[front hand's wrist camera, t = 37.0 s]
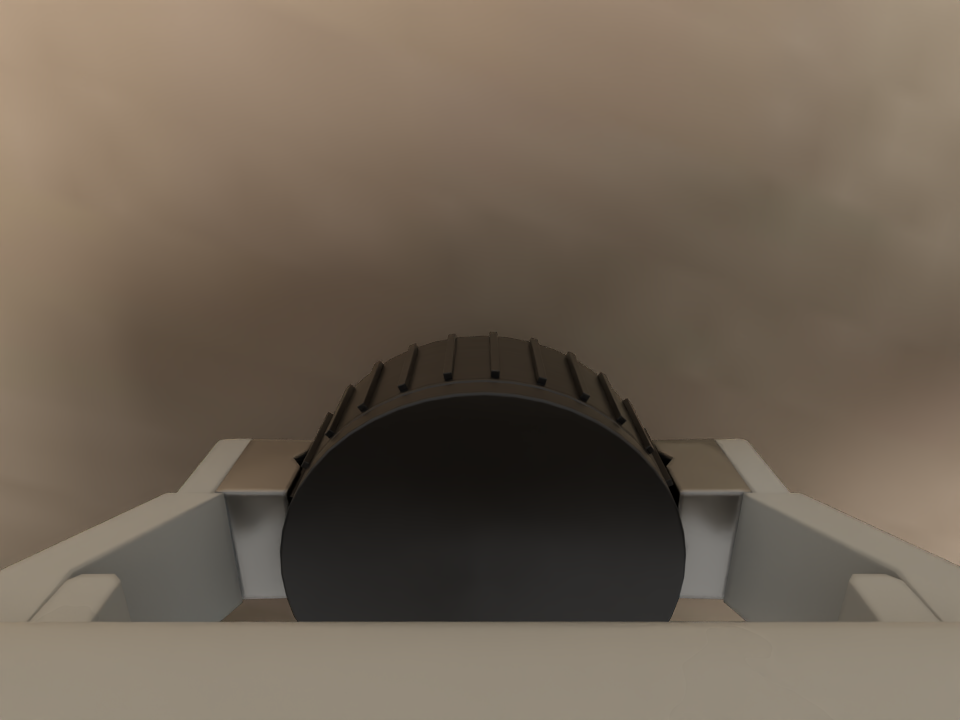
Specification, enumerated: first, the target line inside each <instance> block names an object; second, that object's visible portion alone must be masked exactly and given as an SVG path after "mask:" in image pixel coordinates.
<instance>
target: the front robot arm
mask: <svg viewBox="0 0 960 720" xmlns="http://www.w3.org/2000/svg"><path fill="white" fill-rule="evenodd" d="M313 441H314V440H276V439H255V440H254V439H252V438H248V439H223V440H219V441H218V442H217V443H216V444H215V445H214V447H213V448H212V449H211V450H210V452H209V453H208V454H207V455H206V457H205V458H204V459H203V460H202V462H201V463H200V464H199V465H198V467H197V468H196V469H195V470H194V472H193V473H192V474H191V475H190V477H189V478H188V479H187V480H186V482H185V483H184V484H183V485H182V487H181V488H180V489H179V490H178V492H177V493H165V494H163V495H161V496H158V497H156V498H154V499H152V500H150V501H148V502H146V503H143V504H141V505H139V506H137V507H135V508H133V509H131V510H128V511H126V512H124V513H122V514H120V515H118V516H115V517H113V518H111V519H109V520H107V521H105V522H103V523H100V524H98V525H96V526H94V527H92V528H90V529H88V530H85V531H83V532H81V533H79V534H77V535H75V536H73V537H70V538H68V539H66V540H64V541H62V542H60V543H58V544H55V545H53V546H51V547H49V548H47V549H45V550H42V551H40V552H38V553H36V554H34V555H32V556H30V557H27V558H25V559H23V560H21V561H19V562H17V563H15V564H12V565H10V566H8V567H6V568H4V569H2V570H0V720H960V566H958V565H956V564H953V563H951V562H949V561H947V560H945V559H943V558H941V557H938V556H936V555H934V554H932V553H930V552H928V551H925V550H923V549H921V548H919V547H917V546H915V545H912V544H910V543H908V542H906V541H904V540H902V539H899V538H897V537H895V536H893V535H891V534H889V533H886V532H884V531H882V530H880V529H878V528H876V527H874V526H871V525H869V524H867V523H865V522H863V521H861V520H858V519H856V518H854V517H852V516H850V515H848V514H845V513H843V512H841V511H839V510H837V509H835V508H832V507H830V506H828V505H826V504H824V503H822V502H819V501H817V500H815V499H813V498H811V497H809V496H807V495H804V494H802V493H790V492H789V490H788V489H787V488H786V487H785V486H784V484H783V483H782V482H781V481H780V479H779V478H778V477H777V476H776V475H775V473H774V472H773V471H772V470H771V469H770V467H769V466H768V465H767V464H766V463H765V461H764V460H763V459H762V458H761V456H760V455H759V454H758V453H757V452H756V450H755V449H754V448H753V447H752V446H751V444H750V443H749V442H748V441H747V440H744V439H742V438H736V439H691V440H652V443H653V445H654V446H655V448H656V450H657V452H658V454H659V456H660V458H661V460H662V462H663V464H664V466H665V468H666V470H667V472H668V474H669V476H670V478H671V480H672V482H673V485H672V486H669V489H670V492H671V494H672V496H673V499H674V501H675V503H676V505H677V508H678V510H679V513H680V517H681V521H682V525H683V529H684V534H685V546H686V563H685V576H684V580H683V584H682V588H681V593H680V597H679V598H697V599H724V603H726V604H727V605H728V606H729V607H730V608H731V609H733V610H734V611H735V612H736V613H737V614H739V615H740V616H741V617H742V618H743V619H744V620H746V621H747V622H220V621H221V620H223V619H224V618H225V617H226V616H227V615H228V614H230V613H231V612H232V611H233V610H234V609H235V608H237V607H238V606H239V605H240V604H241V603H242V602H243V600H242V599H269V598H287V597H286V593H285V589H284V585H283V580H282V576H281V564H280V545H281V535H282V528H283V525H284V521H285V517H286V514H287V510H288V507H289V505H290V503H291V494H292V492H293V490H294V488H295V486H296V484H297V482H298V480H299V478H300V476H301V470H302V467H301V465H302V463H303V461H304V459H305V457H306V455H307V453H308V451H309V449H310V447H311V445H312V443H313Z"/></svg>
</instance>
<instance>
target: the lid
mask: <svg viewBox="0 0 960 720" xmlns="http://www.w3.org/2000/svg"><path fill="white" fill-rule="evenodd" d="M301 467H302V470H301V476H300V478H299V480H298V482H297V484H296V486H295V488H294V490H293V492H292V494H291V503H290V505H289V507H288V510H287V514H286V517H285V521H284V525H283V528H282V535H281V545H280V564H281V576H282V580H283V585H284V589H285V593H286V597H287V599H288V602H289V605H290V607H291V610H292V612H293V615H294V617H295V618H296V620H297V622H669V620H670V618H671V616H672V614H673V612H674V609H675V607H676V604H677V602H678V599H679V597H680V593H681V588H682V584H683V580H684V576H685V563H686V546H685V534H684V529H683V525H682V521H681V517H680V513H679V510H678V508H677V505H676V503H675V501H674V499H673V496H672V494H671V492H670V489H669V486H672V485H673V482H672V480H671V478H670V476H669V474H668V472H667V470H666V468H665V466H664V464H663V462H662V460H661V458H660V456H659V454H658V452H657V450H656V448H655V446H654V445H653V443H652V441H651V439H650V437H649V435H648V433H647V431H646V429H645V428H643V426H642V424H641V422H640V420H639V418H638V416H637V414H636V412H635V410H634V408H633V406H632V404H631V403H630V401H629V400H628V399H625V400H624V401H623V400H622V399H621V398H620V397H619V396H618V395H617V394H616V392H615V391H614V390H613V389H612V387H611V385H610V383H609V381H608V379H607V377H606V375H604V374H603V373H602V372H601V373H600V374H599V375H597V374H596V373H594V372H593V371H592V370H590V369H589V368H587V367H585V366H584V365H582V364H581V363H579V362H578V361H577V359H576V357H575V354H573V353H571V352H568V353H567V355H564V354H562V353H560V352H558V351H556V350H554V349H551V348H548V347H545V346H542V345H539V344H538V340H537V339H533V338H530V341H529V342H528V341H523V340H518V339H513V338H506V337H497V333H496V332H490V336H474V337H459V338H456V334H451V335H448V340H442V341H437V342H433V343H430V344H427V345H424V346H421V347H417V345H416V344H413V345H410V346H409V349H408V352H405V353H403V354H401V355H399V356H397V357H395V358H392V359H391V360H389V361H388V362H386V363H385V364H382V362H381V361H379V362H377V363H376V364H375V365H374V367H373V370H372V372H371V373H370V374H369V375H368V376H366V377H365V378H364V379H363V380H362V381H360V382H359V383H358V384H357V385H356V386H355V387H354V386H352V385H351V384H350V385H349V386H348V387H347V388H346V390H345V392H344V394H343V397H342V399H341V401H340V403H339V405H338V407H337V409H336V411H335V413H334V414H331V413H328V414H327V416H326V417H325V419H324V421H323V423H322V425H321V427H320V429H319V431H318V433H317V435H316V437H315V439H314V441H313V443H312V445H311V447H310V449H309V451H308V453H307V455H306V457H305V459H304V461H303V463H302V465H301Z"/></svg>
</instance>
